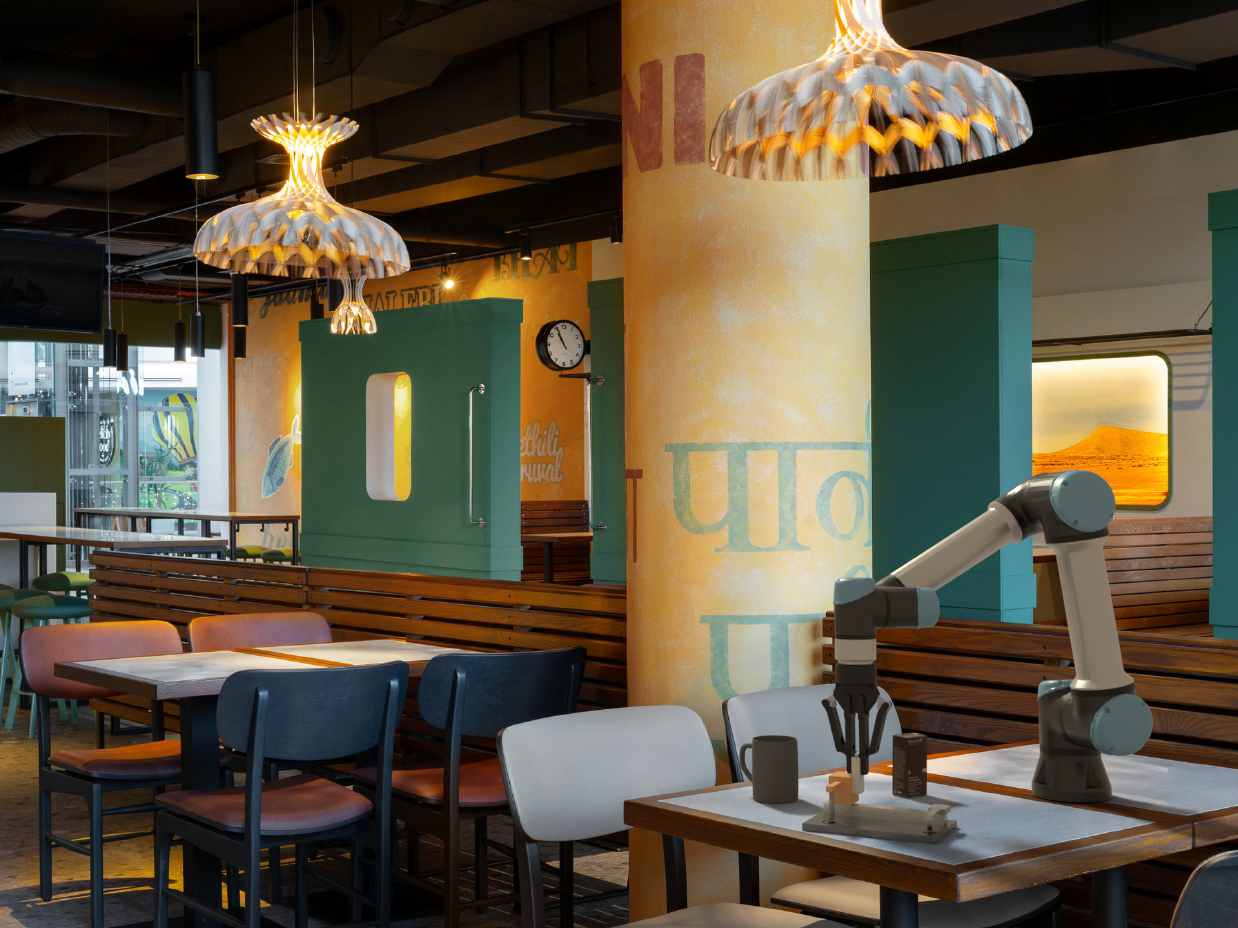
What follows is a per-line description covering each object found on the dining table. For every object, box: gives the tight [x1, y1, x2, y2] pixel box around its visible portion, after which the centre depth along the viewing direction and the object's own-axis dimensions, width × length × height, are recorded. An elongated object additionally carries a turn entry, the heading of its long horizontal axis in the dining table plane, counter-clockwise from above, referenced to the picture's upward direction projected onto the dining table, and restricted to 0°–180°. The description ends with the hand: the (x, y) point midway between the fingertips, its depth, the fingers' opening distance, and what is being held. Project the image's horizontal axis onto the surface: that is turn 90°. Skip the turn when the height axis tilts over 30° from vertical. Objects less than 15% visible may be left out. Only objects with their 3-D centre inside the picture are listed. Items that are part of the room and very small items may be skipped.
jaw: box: [825, 770, 860, 820], centre depth 231 cm, size 4×11×7 cm, turn 152°
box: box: [891, 732, 928, 798], centre depth 257 cm, size 6×4×12 cm
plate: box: [801, 810, 958, 845], centre depth 227 cm, size 24×14×1 cm, turn 62°
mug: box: [738, 734, 799, 805], centre depth 255 cm, size 14×9×12 cm
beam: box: [823, 800, 952, 831], centre depth 227 cm, size 22×10×3 cm, turn 62°
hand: (858, 792), depth 232 cm, fingers closed
